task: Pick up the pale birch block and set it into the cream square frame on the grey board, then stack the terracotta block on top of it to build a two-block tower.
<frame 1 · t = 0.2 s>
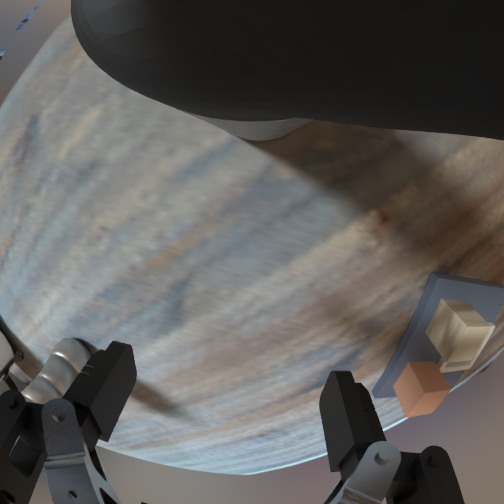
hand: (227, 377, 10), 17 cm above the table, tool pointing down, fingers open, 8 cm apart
coffee press: (6, 340, 36), on the table
plastic bottle: (79, 348, 34), on the table
terracotta block: (413, 374, 31), point 1 cm above the table, touching grey board
birch block: (446, 316, 27), point 1 cm above the table, touching grey board
grey board: (444, 340, 30), on the table
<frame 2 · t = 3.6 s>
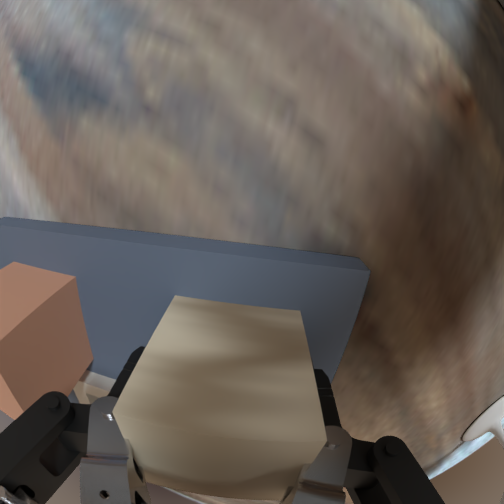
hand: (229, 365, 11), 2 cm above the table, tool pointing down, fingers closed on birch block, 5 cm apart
terracotta block: (50, 311, 11), point 1 cm above the table, touching grey board
birch block: (232, 351, 11), point 1 cm above the table, touching grey board, gripper
wineglass: (489, 416, 18), on the table
grey board: (145, 371, 14), on the table
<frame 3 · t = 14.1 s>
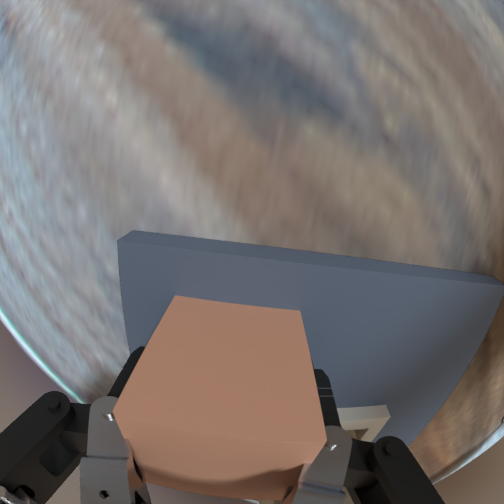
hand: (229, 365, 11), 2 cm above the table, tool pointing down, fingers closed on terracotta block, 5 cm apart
terracotta block: (232, 351, 11), point 1 cm above the table, touching grey board, gripper
grey board: (314, 392, 14), on the table
when the fingers open (10 cm above the table, at t = 19.1 s): terracotta block drops 1 cm, resting on birch block.
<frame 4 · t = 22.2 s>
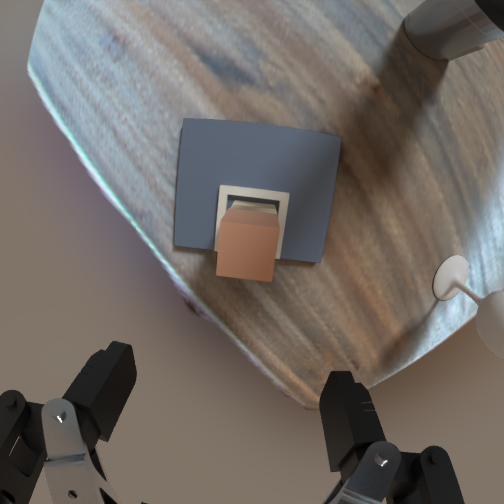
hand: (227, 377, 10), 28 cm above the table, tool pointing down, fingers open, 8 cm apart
terracotta block: (249, 233, 29), point 7 cm above the table, touching birch block
birch block: (252, 221, 35), point 1 cm above the table, touching grey board, terracotta block
wineglass: (450, 277, 39), on the table
grey board: (254, 189, 35), on the table
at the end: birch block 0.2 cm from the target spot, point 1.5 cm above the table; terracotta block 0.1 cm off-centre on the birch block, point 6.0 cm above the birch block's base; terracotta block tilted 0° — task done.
